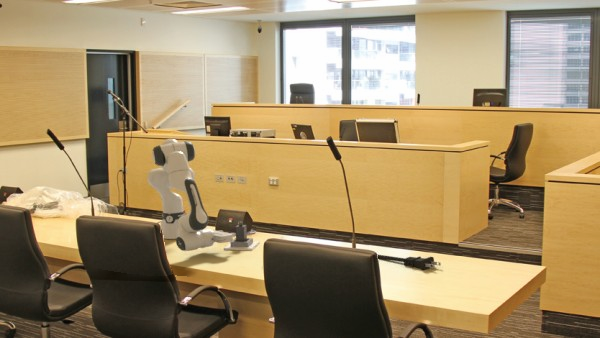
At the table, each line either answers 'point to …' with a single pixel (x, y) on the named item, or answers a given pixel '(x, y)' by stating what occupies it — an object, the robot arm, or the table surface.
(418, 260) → the electrical plug
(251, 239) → the socket
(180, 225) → the robot arm
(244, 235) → the dark grey square bottle
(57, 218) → the table surface
